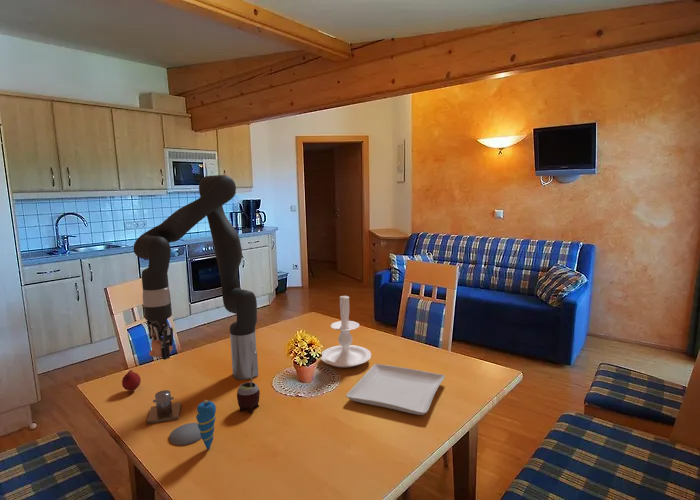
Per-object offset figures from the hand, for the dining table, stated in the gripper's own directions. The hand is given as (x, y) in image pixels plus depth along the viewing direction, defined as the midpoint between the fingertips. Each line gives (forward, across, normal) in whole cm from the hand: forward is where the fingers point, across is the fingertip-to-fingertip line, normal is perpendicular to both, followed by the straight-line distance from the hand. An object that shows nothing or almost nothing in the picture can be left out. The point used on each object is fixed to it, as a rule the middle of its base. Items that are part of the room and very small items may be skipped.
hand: (162, 355), depth 127 cm
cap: (-1, 0, 0) cm, 1 cm away
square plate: (+21, -44, -60) cm, 77 cm away
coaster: (+21, -13, 0) cm, 24 cm away
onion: (+21, +27, +2) cm, 34 cm away
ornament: (+21, -24, -1) cm, 32 cm away
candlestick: (+21, -11, -68) cm, 72 cm away
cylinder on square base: (+21, +3, 0) cm, 21 cm away
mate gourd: (+21, -14, -20) cm, 32 cm away
